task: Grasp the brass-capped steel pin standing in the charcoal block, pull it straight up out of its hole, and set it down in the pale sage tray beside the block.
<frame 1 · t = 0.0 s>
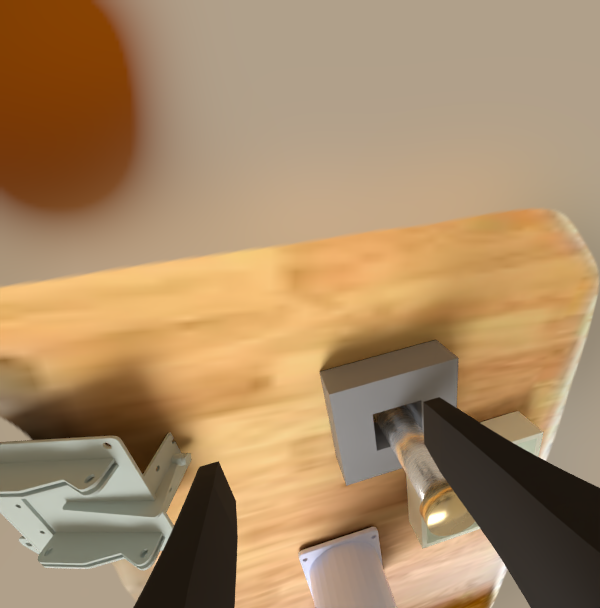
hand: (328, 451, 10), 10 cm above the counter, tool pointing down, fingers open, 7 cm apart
steel pin: (412, 447, 20), in the pin block
tray: (460, 469, 29), on the counter
pin block: (383, 402, 24), on the counter
metal bracket: (92, 468, 22), on the counter
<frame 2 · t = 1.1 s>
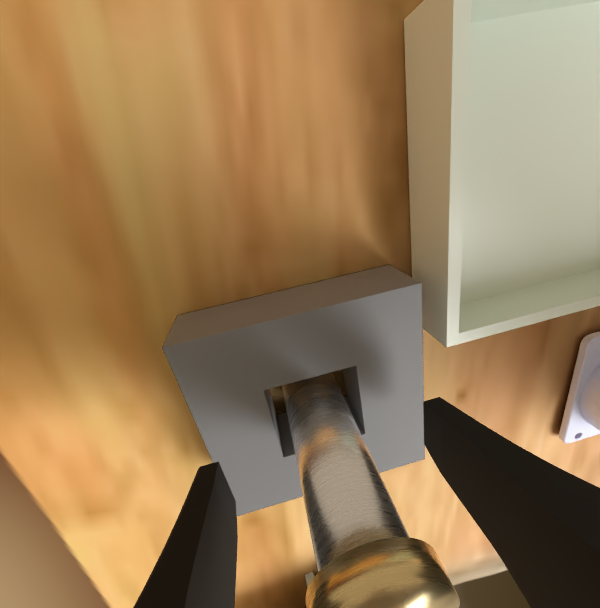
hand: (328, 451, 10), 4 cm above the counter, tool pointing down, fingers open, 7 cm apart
steel pin: (331, 453, 10), in the pin block
tray: (534, 170, 12), on the counter
pin block: (305, 376, 14), on the counter
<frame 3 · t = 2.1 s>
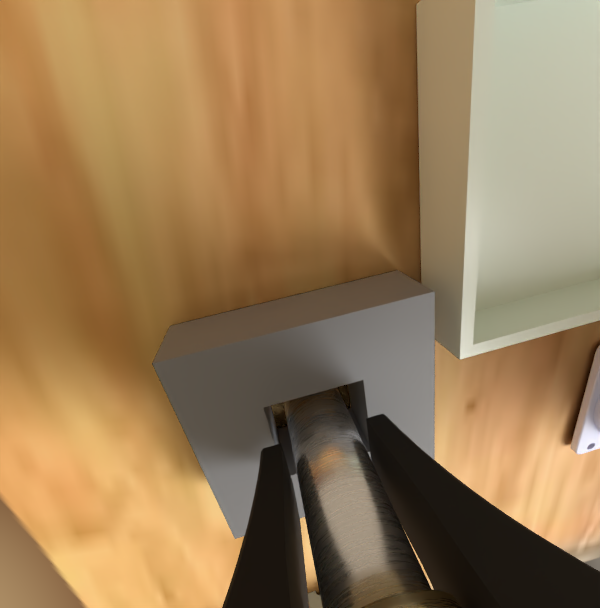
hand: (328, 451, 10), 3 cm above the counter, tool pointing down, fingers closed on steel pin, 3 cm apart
steel pin: (336, 477, 9), in the pin block, touching gripper
tray: (552, 170, 12), on the counter
pin block: (308, 388, 13), on the counter
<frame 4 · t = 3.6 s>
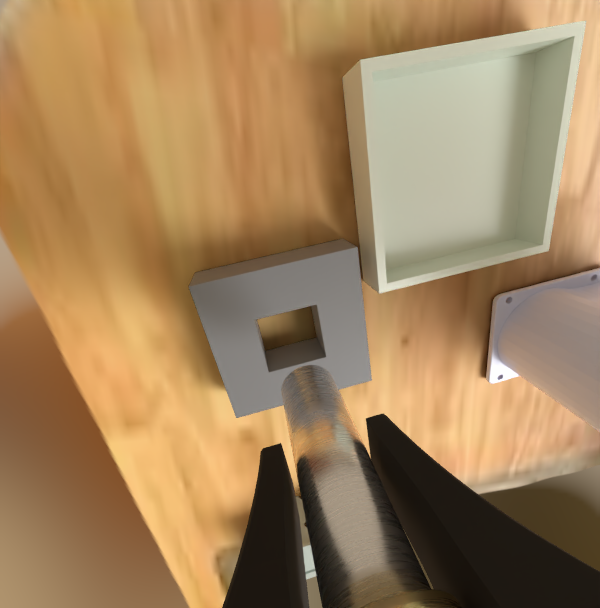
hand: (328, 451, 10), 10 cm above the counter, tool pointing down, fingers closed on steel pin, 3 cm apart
steel pin: (336, 476, 9), point 11 cm above the counter, touching gripper
tray: (441, 173, 18), on the counter
pin block: (286, 321, 20), on the counter
metal bracket: (321, 526, 30), on the counter
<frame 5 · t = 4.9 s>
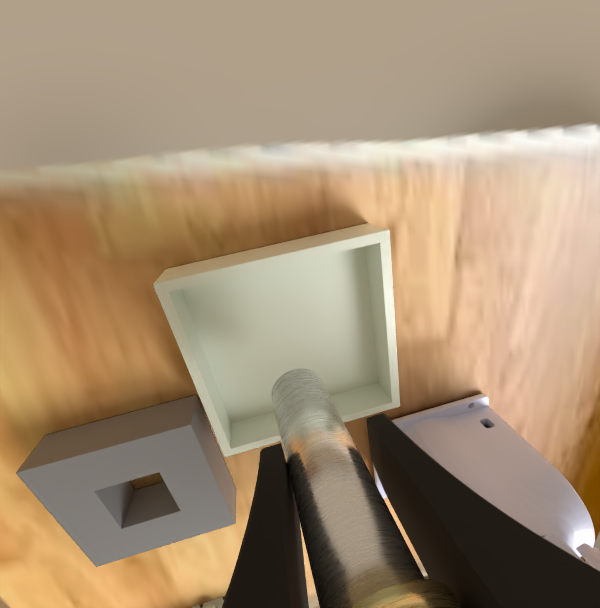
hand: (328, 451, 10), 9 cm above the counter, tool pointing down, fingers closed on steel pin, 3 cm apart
steel pin: (329, 477, 9), point 10 cm above the counter, touching gripper
tray: (290, 333, 18), on the counter
pin block: (151, 464, 20), on the counter
when the fingers open (6 cm above the counter, at t = 5.6 s): steel pin drops 2 cm, resting on tray.
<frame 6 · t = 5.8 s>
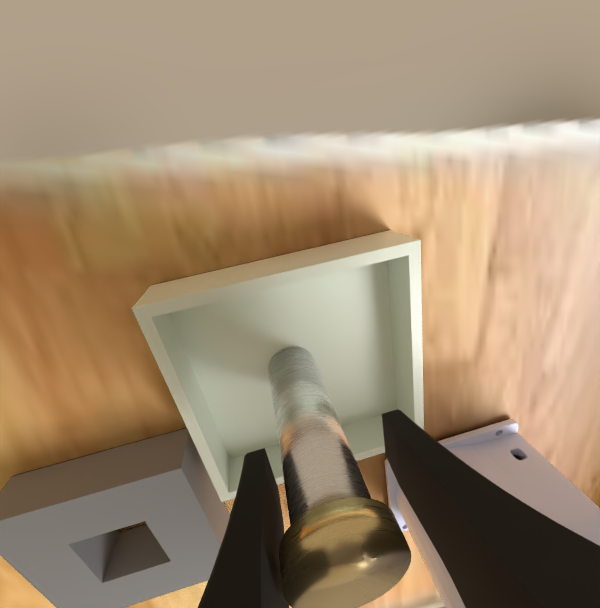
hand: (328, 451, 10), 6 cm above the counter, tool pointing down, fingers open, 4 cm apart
steel pin: (310, 434, 11), in the tray, touching gripper
tray: (298, 357, 16), on the counter
pin block: (137, 504, 17), on the counter
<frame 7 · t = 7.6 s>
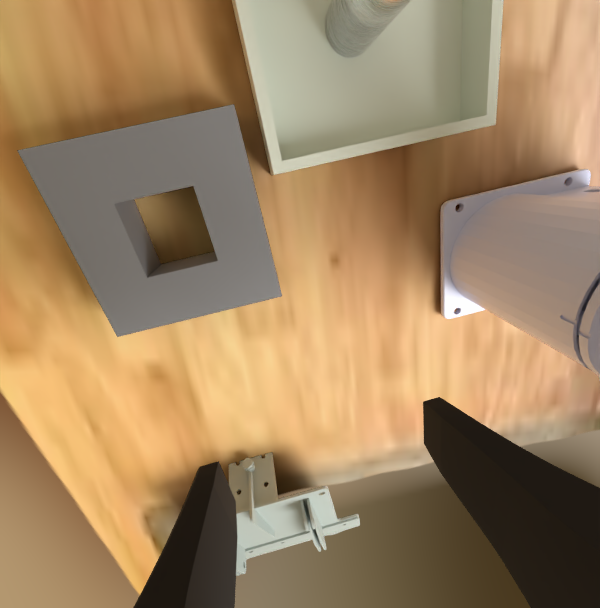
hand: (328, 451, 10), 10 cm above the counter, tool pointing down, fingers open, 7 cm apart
tray: (356, 25, 14), on the counter
pin block: (180, 225, 17), on the counter
metal bracket: (270, 499, 27), on the counter
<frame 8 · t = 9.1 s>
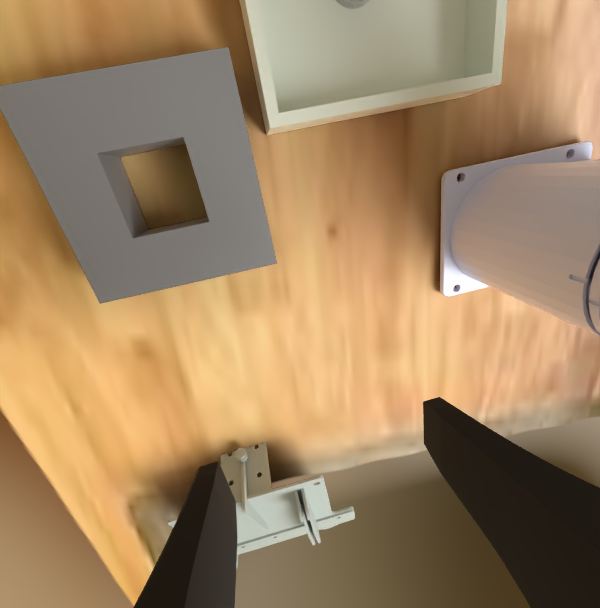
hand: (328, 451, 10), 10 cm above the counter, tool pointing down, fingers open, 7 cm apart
pin block: (169, 187, 16), on the counter
metal bracket: (262, 492, 27), on the counter
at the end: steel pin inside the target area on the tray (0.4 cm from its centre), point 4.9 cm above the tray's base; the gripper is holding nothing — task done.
